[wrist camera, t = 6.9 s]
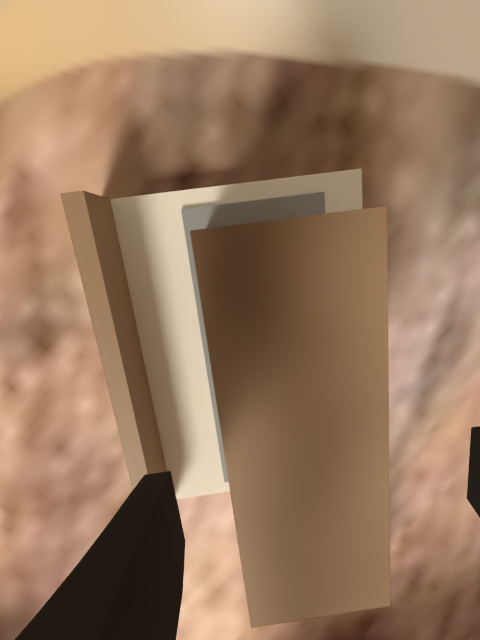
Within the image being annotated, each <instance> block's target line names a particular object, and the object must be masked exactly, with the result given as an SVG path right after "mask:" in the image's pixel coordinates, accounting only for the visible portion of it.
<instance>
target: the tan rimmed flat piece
mask: <svg viewBox="0 0 480 640" xmlns="http://www.w3.org/2000/svg"><path fill="white" fill-rule="evenodd" d="M61 198H62V202H63V207H64V211H65V215H66V219H67V223H68V227H69V231H70V235H71V239H72V243H73V247H74V251H75V256H76V260H77V264H78V268H79V272H80V276H81V280H82V284H83V288H84V292H85V296H86V300H87V305H88V309H89V313H90V317H91V321H92V325H93V329H94V333H95V337H96V341H97V345H98V349H99V354H100V358H101V362H102V366H103V370H104V374H105V378H106V382H107V386H108V390H109V394H110V398H111V403H112V407H113V411H114V415H115V419H116V423H117V427H118V431H119V435H120V439H121V443H122V448H123V452H124V456H125V460H126V464H127V468H128V472H129V476H130V480H131V484H132V488H133V489H134V488H135V487H136V485H137V484H138V483H139V481H140V480H141V479H142V477H143V476H144V475H145V474H152V473H159V472H166V471H171V475H172V480H173V485H174V490H175V494H176V499H182V498H188V497H195V496H202V495H209V494H215V493H222V492H229V491H230V487H229V481H228V474H227V468H226V461H225V455H224V448H223V442H222V436H221V429H220V423H219V416H218V410H217V403H216V397H215V390H214V384H213V377H212V371H211V365H210V358H209V352H208V345H207V339H206V332H205V326H204V319H203V313H202V306H201V300H200V294H199V287H198V281H197V274H196V268H195V261H194V255H193V248H192V242H191V236H190V230H198V229H206V228H214V227H222V226H230V225H238V224H246V223H254V222H262V221H270V220H278V219H286V218H294V217H302V216H309V215H317V214H325V213H333V212H341V211H349V210H357V209H363V204H362V168H360V169H352V170H344V171H336V172H328V173H319V174H311V175H303V176H295V177H287V178H279V179H270V180H262V181H254V182H246V183H238V184H229V185H221V186H213V187H205V188H197V189H188V190H180V191H172V192H164V193H156V194H147V195H139V196H131V197H123V198H115V199H108V198H105V197H102V196H99V195H95V194H92V193H89V192H86V191H77V192H69V193H61Z"/></svg>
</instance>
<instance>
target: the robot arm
mask: <svg viewBox="0 0 480 640" xmlns="http://www.w3.org/2000/svg"><path fill="white" fill-rule="evenodd" d="M467 499H468V501H469V502H470V504H471V505H472V507H473V508H474V510H475V511H476V513H477V514H478V516H479V517H480V426H479V427H472V428H471V442H470V458H469V474H468V490H467ZM184 553H185V538H184V533H183V528H182V524H181V519H180V514H179V509H178V504H177V499H176V494H175V490H174V485H173V480H172V475H171V471H166V472H159V473H152V474H145V475H144V476H143V477H142V479H141V480H140V481H139V483H138V484H137V485H136V487H135V488H134V489H133V491H132V492H131V493H130V495H129V496H128V498H127V499H126V500H125V502H124V503H123V505H122V506H121V507H120V509H119V510H118V511H117V513H116V514H115V515H114V517H113V518H112V520H111V521H110V522H109V524H108V525H107V526H106V528H105V529H104V530H103V532H102V533H101V534H100V536H99V537H98V538H97V540H96V541H95V542H94V544H93V545H92V546H91V547H90V549H89V550H88V551H87V553H86V554H85V555H84V557H83V558H82V559H81V561H80V562H79V563H78V564H77V566H76V567H75V568H74V569H73V571H72V572H71V573H70V574H69V576H68V577H67V578H66V579H65V580H64V582H63V583H62V584H61V585H60V587H59V588H58V589H57V590H56V591H55V593H54V594H53V595H52V596H51V597H50V599H49V600H48V601H47V602H46V604H45V605H44V606H43V607H42V608H41V610H40V611H39V612H38V613H37V615H36V616H35V617H34V618H33V619H32V620H31V622H30V623H29V624H28V625H27V626H26V627H25V628H24V630H23V631H22V632H21V633H20V634H19V635H18V637H17V638H16V639H15V640H176V634H177V627H178V620H179V613H180V606H181V599H182V591H183V574H184Z"/></svg>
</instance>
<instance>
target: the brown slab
mask: <svg viewBox="0 0 480 640" xmlns="http://www.w3.org/2000/svg"><path fill="white" fill-rule="evenodd" d="M190 236H191V242H192V248H193V255H194V261H195V268H196V274H197V281H198V287H199V294H200V300H201V306H202V313H203V319H204V326H205V332H206V339H207V345H208V352H209V358H210V365H211V371H212V377H213V384H214V390H215V397H216V403H217V410H218V416H219V423H220V429H221V436H222V442H223V448H224V455H225V461H226V468H227V474H228V481H229V487H230V494H231V500H232V506H233V513H234V519H235V526H236V532H237V539H238V545H239V552H240V558H241V565H242V571H243V577H244V584H245V590H246V597H247V603H248V610H249V616H250V623H251V628H254V627H260V626H267V625H273V624H279V623H286V622H292V621H298V620H305V619H311V618H317V617H323V616H330V615H336V614H342V613H349V612H355V611H361V610H367V609H374V608H380V607H386V606H390V523H389V391H388V258H387V206H381V207H373V208H365V209H357V210H349V211H341V212H333V213H325V214H317V215H309V216H302V217H294V218H286V219H278V220H270V221H262V222H254V223H246V224H238V225H230V226H222V227H214V228H206V229H198V230H190Z"/></svg>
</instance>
